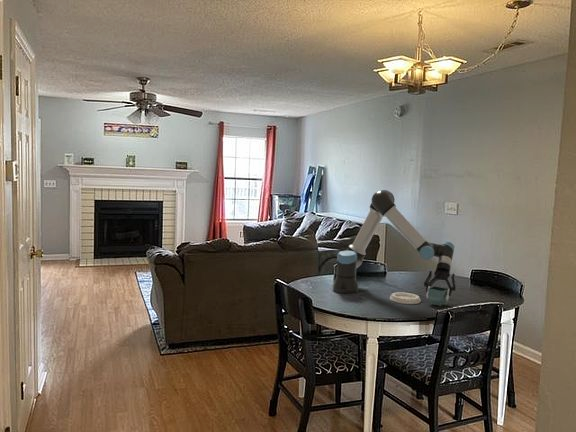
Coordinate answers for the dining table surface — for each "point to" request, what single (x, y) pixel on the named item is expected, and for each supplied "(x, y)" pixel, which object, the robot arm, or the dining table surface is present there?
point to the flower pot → (437, 295)
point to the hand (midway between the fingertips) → (437, 298)
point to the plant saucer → (405, 298)
